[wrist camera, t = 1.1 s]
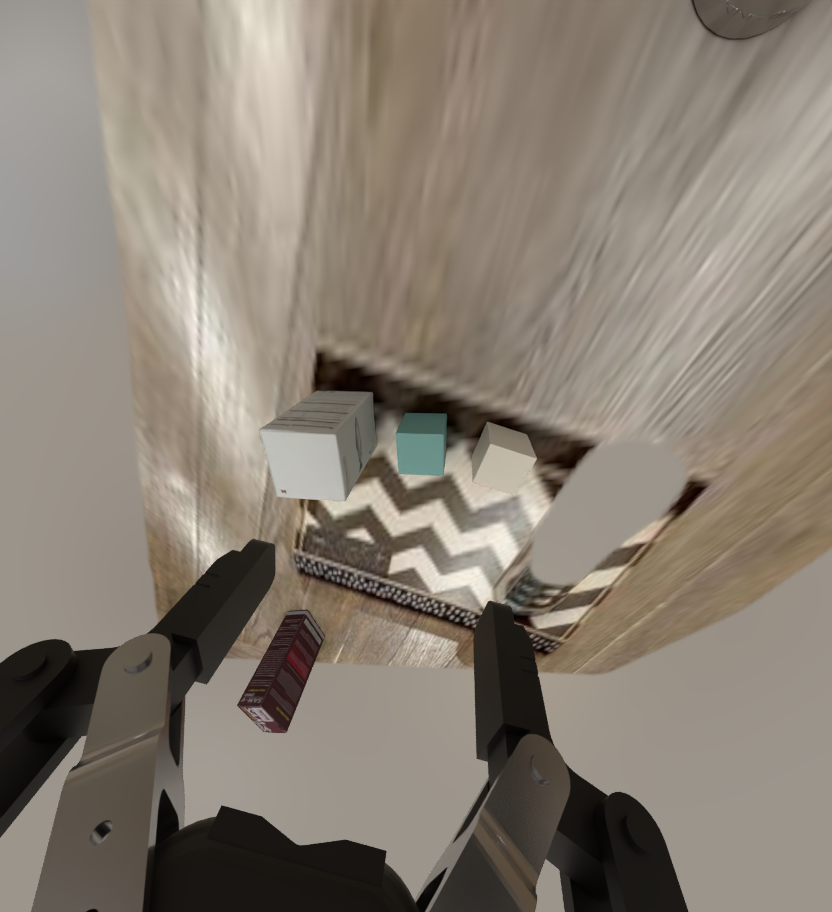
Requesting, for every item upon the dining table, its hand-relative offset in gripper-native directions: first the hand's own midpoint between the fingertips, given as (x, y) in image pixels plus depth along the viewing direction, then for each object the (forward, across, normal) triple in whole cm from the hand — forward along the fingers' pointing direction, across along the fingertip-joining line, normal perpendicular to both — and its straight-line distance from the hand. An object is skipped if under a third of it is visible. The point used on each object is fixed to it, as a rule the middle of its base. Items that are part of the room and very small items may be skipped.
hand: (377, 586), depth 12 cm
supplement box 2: (+29, +14, +53) cm, 62 cm away
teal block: (+28, 0, +6) cm, 29 cm away
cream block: (+28, -9, +5) cm, 30 cm away
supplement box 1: (+28, +10, +7) cm, 31 cm away
